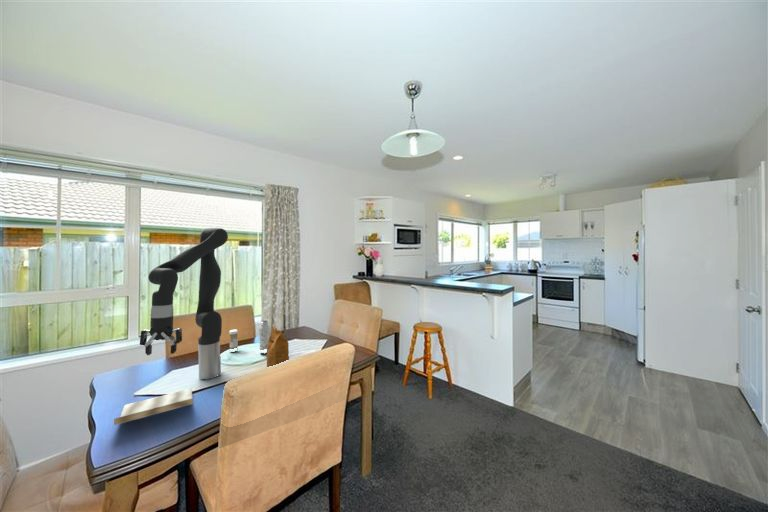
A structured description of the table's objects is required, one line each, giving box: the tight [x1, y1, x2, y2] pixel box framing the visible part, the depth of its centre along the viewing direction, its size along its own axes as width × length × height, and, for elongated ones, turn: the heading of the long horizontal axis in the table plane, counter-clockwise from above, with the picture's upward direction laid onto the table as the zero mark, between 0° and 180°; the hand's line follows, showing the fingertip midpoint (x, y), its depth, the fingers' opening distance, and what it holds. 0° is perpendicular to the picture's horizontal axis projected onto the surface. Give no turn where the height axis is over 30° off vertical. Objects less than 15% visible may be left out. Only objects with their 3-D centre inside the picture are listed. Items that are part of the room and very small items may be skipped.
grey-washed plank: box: [120, 388, 193, 417], centre depth 113 cm, size 22×10×2 cm, turn 126°
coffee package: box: [265, 326, 290, 368], centre depth 149 cm, size 10×12×22 cm
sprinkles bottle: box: [228, 329, 239, 350], centre depth 174 cm, size 5×5×14 cm
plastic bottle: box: [258, 320, 271, 350], centre depth 170 cm, size 6×7×20 cm
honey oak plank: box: [113, 397, 194, 426], centre depth 104 cm, size 22×12×2 cm, turn 126°
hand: (161, 354), depth 117 cm, fingers open, 8 cm apart
